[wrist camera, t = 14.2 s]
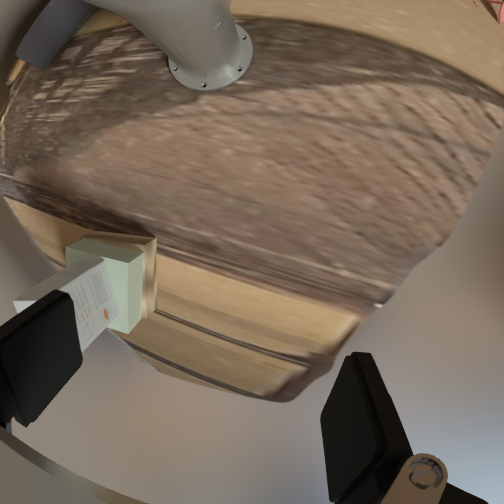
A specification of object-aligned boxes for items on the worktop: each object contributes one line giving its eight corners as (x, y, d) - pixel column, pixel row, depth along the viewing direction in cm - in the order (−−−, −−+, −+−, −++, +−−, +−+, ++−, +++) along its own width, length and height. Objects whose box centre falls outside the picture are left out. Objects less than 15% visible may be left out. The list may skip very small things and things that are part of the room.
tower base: (96, 229, 45) (79, 236, 40) (157, 237, 44) (144, 245, 39) (100, 293, 48) (86, 304, 43) (158, 305, 47) (146, 319, 43)
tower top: (84, 238, 40) (65, 246, 35) (144, 252, 40) (128, 263, 35) (85, 300, 43) (69, 313, 38) (141, 318, 43) (128, 334, 38)
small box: (72, 263, 36) (10, 299, 23) (105, 259, 35) (42, 298, 22) (88, 314, 38) (36, 361, 25) (121, 314, 37) (70, 367, 25)
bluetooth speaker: (111, -27, 30) (87, -49, 20) (136, -17, 31) (112, -43, 21) (38, 57, 35) (7, 47, 26) (56, 74, 37) (22, 64, 27)
